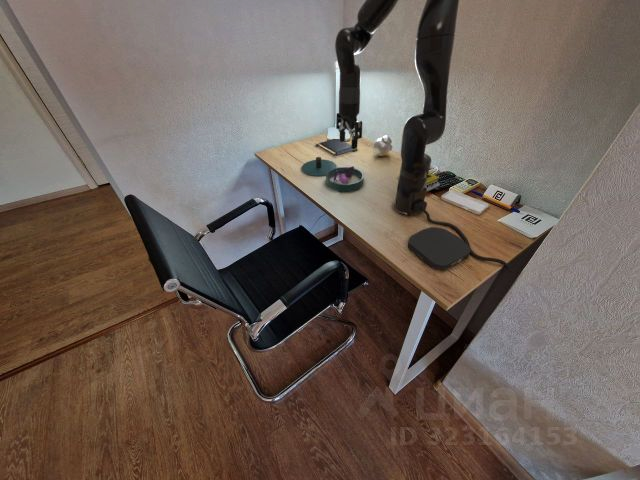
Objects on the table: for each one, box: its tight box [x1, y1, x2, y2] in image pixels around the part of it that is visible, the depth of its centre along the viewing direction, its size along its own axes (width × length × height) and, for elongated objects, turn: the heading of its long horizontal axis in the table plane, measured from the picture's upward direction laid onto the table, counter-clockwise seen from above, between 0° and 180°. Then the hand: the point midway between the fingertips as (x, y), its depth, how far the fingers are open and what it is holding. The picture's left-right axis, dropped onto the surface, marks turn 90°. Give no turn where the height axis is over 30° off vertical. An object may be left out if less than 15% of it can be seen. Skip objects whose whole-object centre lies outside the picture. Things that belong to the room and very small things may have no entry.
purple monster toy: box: [332, 166, 355, 184], centre depth 112 cm, size 7×5×9 cm
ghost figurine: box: [372, 135, 393, 157], centre depth 130 cm, size 9×9×10 cm
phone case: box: [440, 189, 490, 216], centre depth 98 cm, size 7×1×15 cm
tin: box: [325, 166, 365, 194], centre depth 114 cm, size 16×16×4 cm
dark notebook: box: [315, 138, 358, 157], centre depth 143 cm, size 20×2×15 cm
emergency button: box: [425, 172, 441, 193], centre depth 111 cm, size 9×4×15 cm
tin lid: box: [301, 156, 338, 177], centre depth 124 cm, size 17×17×6 cm
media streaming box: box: [407, 226, 471, 271], centre depth 80 cm, size 15×15×3 cm
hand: (348, 144), depth 103 cm, fingers open, 8 cm apart
